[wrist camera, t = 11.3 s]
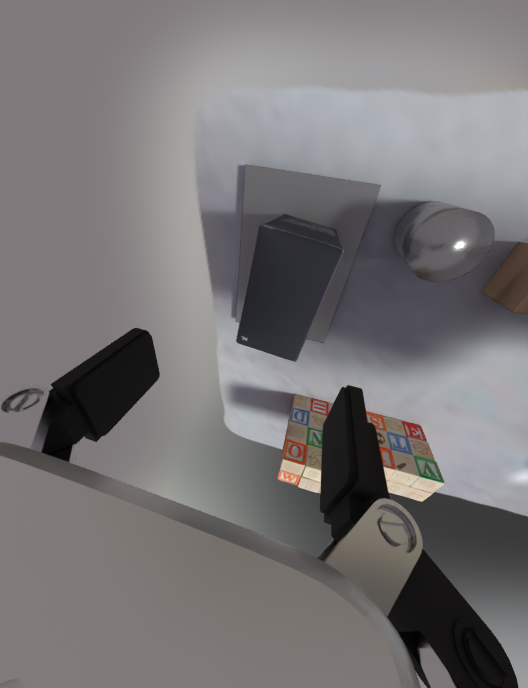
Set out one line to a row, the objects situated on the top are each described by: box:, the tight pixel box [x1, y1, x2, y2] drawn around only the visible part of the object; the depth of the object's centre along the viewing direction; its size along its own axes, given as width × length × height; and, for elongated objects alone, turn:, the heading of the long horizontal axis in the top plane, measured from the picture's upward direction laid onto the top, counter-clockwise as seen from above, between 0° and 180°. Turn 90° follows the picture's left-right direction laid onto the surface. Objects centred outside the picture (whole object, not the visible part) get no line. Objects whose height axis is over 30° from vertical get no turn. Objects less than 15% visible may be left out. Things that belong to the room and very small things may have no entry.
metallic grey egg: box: [394, 202, 494, 282], centre depth 19 cm, size 5×5×7 cm
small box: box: [236, 214, 344, 362], centre depth 22 cm, size 11×6×10 cm, turn 167°
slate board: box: [236, 164, 381, 343], centre depth 26 cm, size 13×18×1 cm
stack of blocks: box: [278, 394, 445, 501], centre depth 34 cm, size 21×6×12 cm, turn 85°
